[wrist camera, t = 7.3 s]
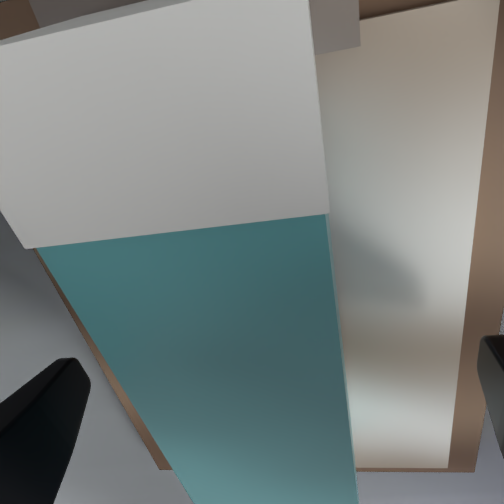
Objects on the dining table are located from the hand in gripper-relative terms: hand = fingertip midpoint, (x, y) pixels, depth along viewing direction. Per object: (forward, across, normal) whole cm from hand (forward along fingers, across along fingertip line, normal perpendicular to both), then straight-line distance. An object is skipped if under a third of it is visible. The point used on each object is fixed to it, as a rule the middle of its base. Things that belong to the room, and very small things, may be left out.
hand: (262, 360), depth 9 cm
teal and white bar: (+1, 0, 0) cm, 1 cm away
